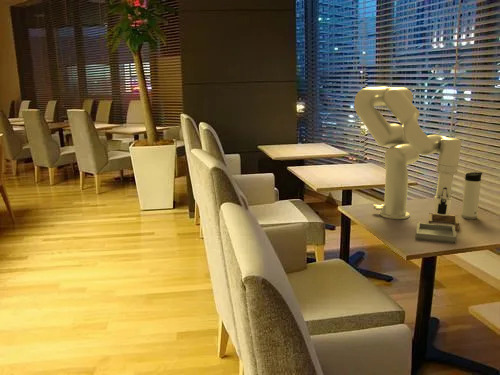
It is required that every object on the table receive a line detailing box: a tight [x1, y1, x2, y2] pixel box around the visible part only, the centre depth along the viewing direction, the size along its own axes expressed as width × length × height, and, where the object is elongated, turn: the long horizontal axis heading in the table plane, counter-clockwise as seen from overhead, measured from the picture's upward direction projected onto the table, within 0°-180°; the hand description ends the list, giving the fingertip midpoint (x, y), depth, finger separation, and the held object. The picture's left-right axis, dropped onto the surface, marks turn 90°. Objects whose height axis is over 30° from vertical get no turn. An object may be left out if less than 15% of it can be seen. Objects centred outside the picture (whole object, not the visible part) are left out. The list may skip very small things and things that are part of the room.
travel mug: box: [461, 171, 483, 220], centre depth 206 cm, size 6×7×20 cm
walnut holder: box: [427, 212, 460, 231], centre depth 198 cm, size 11×12×3 cm
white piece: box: [433, 195, 453, 216], centre depth 195 cm, size 7×7×7 cm
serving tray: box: [415, 222, 457, 244], centre depth 185 cm, size 14×14×2 cm
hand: (441, 211), depth 196 cm, fingers closed on white piece, 5 cm apart
